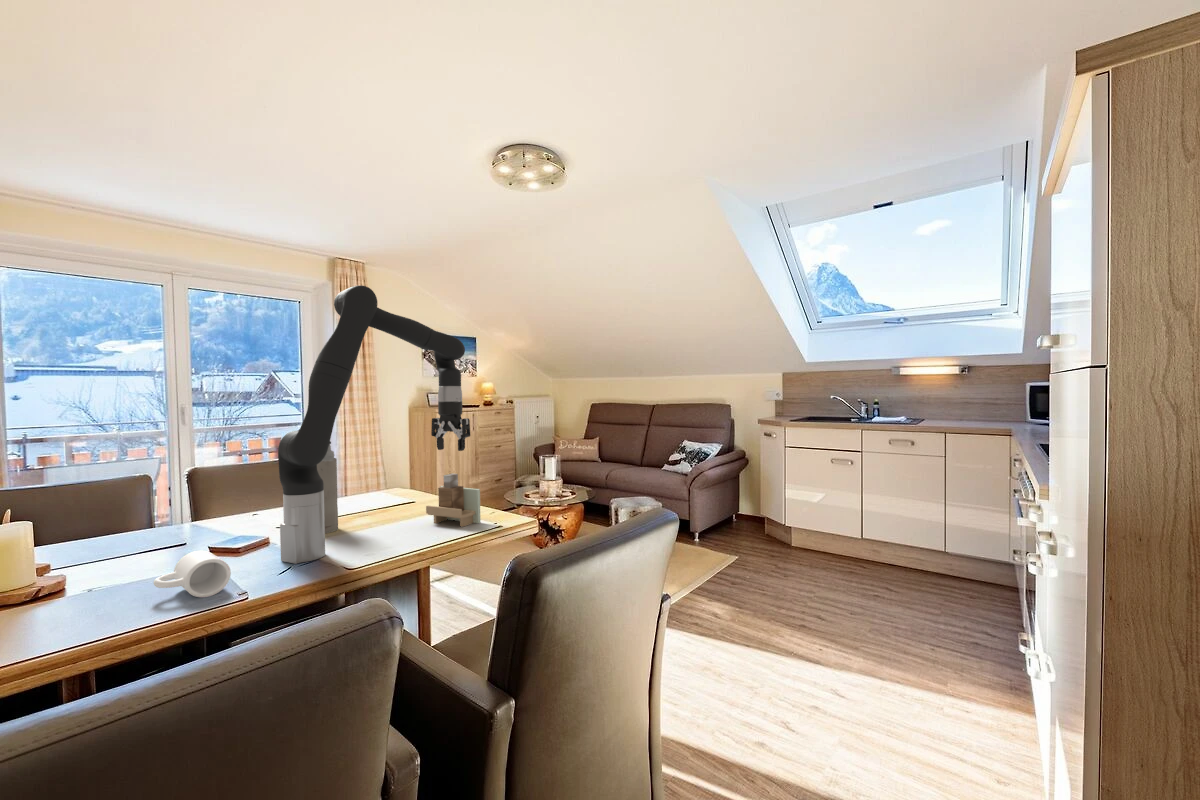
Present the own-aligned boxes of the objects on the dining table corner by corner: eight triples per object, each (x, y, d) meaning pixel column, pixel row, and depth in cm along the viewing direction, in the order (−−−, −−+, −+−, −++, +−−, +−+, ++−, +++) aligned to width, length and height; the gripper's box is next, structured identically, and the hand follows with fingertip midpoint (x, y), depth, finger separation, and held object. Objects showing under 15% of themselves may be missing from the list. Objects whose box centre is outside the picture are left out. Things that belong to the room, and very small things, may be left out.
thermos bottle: (308, 535, 156) (306, 443, 155) (310, 529, 163) (308, 441, 162) (337, 531, 159) (335, 441, 158) (338, 525, 166) (336, 439, 166)
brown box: (452, 514, 163) (452, 476, 163) (438, 512, 166) (437, 475, 166) (463, 510, 168) (463, 473, 168) (449, 508, 171) (448, 472, 170)
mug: (217, 580, 119) (216, 546, 118) (231, 591, 112) (230, 554, 112) (149, 597, 109) (148, 560, 109) (160, 609, 103) (159, 570, 103)
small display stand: (462, 529, 160) (462, 494, 160) (424, 524, 167) (423, 490, 167) (480, 522, 168) (479, 489, 168) (442, 518, 175) (442, 485, 174)
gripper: (425, 400, 166) (425, 450, 166) (459, 400, 160) (460, 452, 160) (441, 400, 173) (442, 448, 173) (475, 400, 167) (475, 449, 167)
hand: (450, 450), depth 167 cm, fingers open, 8 cm apart
